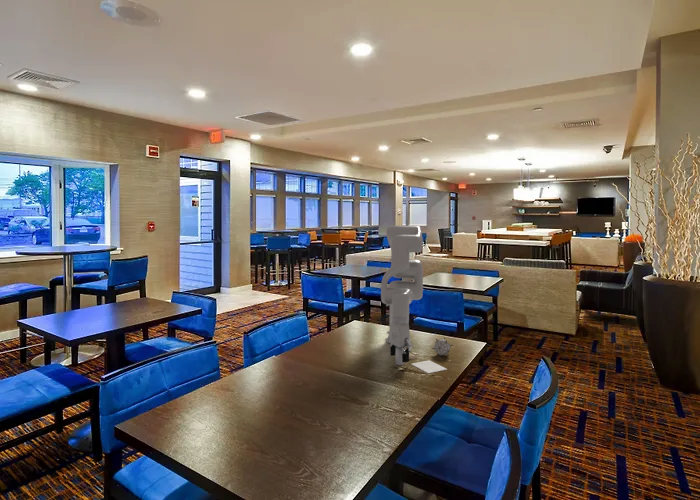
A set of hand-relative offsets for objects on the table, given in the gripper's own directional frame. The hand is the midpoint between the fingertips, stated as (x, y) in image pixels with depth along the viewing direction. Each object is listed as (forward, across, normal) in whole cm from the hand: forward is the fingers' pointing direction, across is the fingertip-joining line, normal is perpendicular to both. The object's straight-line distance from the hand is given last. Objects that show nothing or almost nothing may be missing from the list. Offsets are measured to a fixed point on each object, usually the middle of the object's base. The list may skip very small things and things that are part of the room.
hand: (399, 358), depth 181 cm
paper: (+2, +9, +9) cm, 13 cm away
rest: (+2, -5, +9) cm, 11 cm away
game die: (+3, 0, +24) cm, 24 cm away
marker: (+2, 0, 0) cm, 2 cm away
